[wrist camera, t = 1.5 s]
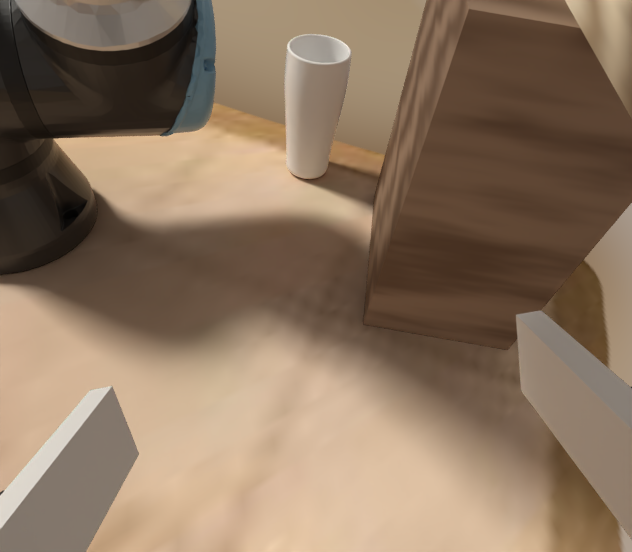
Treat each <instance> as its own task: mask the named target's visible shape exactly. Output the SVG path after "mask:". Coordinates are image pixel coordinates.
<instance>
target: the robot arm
mask: <svg viewBox="0 0 632 552" xmlns="http://www.w3.org/2000/svg"><path fill="white" fill-rule="evenodd" d="M215 54H216V37H215V22H214V14H213V7H212V1H211V0H0V274H7V273H15V272H20V271H25V270H29V269H32V268H36V267H39V266H41V265H44V264H47V263H49V262H51V261H53V260H55V259H57V258H59V257H61V256H63V255H64V254H66V253H67V252H69V251H70V250H72V249H73V248H74V247H76V246H77V245H78V244H79V243H80V242H81V241H82V240H83V239H84V238H85V237H86V236H87V235H88V233H89V232H90V230H91V229H92V227H93V225H94V223H95V220H96V217H97V203H96V199H95V197H94V194H93V191H92V188H91V186H90V183H89V182H88V180H87V178H86V177H85V176H84V174H83V173H82V172H81V171H80V170H79V169H78V168H77V166H76V165H75V164H74V163H73V162H72V161H71V159H70V158H69V157H68V156H67V155H66V154H65V153H64V151H63V150H62V149H61V148H60V147H59V146H58V144H57V143H56V142H55V141H54V139H53V138H76V137H115V136H153V135H160V136H169V135H171V134H173V133H181V132H192V131H197V130H199V129H201V128H202V127H204V126H205V125H206V123H207V122H208V120H209V118H210V115H211V112H212V108H213V102H214V93H215V76H216V73H215V72H216V71H215V66H214V63H215ZM516 325H517V339H518V354H519V369H520V383H521V391H522V393H523V394H524V395H525V397H526V398H527V400H528V401H529V402H530V404H531V405H532V406H533V408H534V409H535V410H536V412H537V413H538V414H539V416H540V417H541V418H542V420H543V421H544V422H545V424H546V425H547V426H548V428H549V429H550V430H551V432H552V433H553V434H554V436H555V437H556V438H557V440H558V441H559V443H560V444H561V445H562V447H563V448H564V449H565V451H566V452H567V453H568V455H569V456H570V457H571V459H572V460H573V461H574V463H575V464H576V465H577V467H578V468H579V469H580V471H581V472H582V473H583V475H584V476H585V477H586V479H587V480H588V481H589V483H590V484H591V486H592V487H593V488H594V490H595V491H596V492H597V494H598V495H599V496H600V498H601V499H602V500H603V502H604V503H605V504H606V506H607V507H608V508H609V510H610V511H611V512H612V514H613V515H614V516H615V518H616V519H617V520H618V522H619V523H620V524H621V526H622V527H623V528H624V530H625V531H626V532H627V534H628V535H629V537H630V538H631V539H632V387H630V386H629V385H627V384H626V383H625V382H624V381H623V380H622V379H620V378H619V377H618V376H617V375H616V374H614V373H613V372H612V371H611V370H610V369H609V368H608V367H607V366H605V365H604V364H603V363H602V362H601V361H600V360H598V359H597V358H596V357H595V356H594V355H593V354H591V353H590V352H589V351H588V350H587V349H586V348H584V347H583V346H582V345H581V344H580V343H579V342H577V341H576V340H575V339H574V338H573V337H572V336H570V335H569V334H568V333H567V332H566V331H565V330H563V329H562V328H561V327H560V326H559V325H558V324H556V323H555V322H554V321H553V320H552V319H551V318H549V317H548V316H547V315H546V314H545V313H544V312H542V311H541V310H540V311H534V312H529V313H523V314H517V315H516ZM138 455H139V452H138V450H137V447H136V445H135V442H134V440H133V437H132V435H131V432H130V430H129V427H128V425H127V422H126V420H125V417H124V415H123V412H122V409H121V407H120V404H119V402H118V399H117V397H116V394H115V392H114V389H113V387H112V386H110V387H105V388H99V389H93V390H90V391H89V392H88V393H87V395H86V396H85V397H84V398H83V399H82V400H81V402H80V403H79V404H78V405H77V406H76V407H75V409H74V410H73V411H72V412H71V413H70V414H69V416H68V417H67V418H66V419H65V420H64V421H63V423H62V424H61V425H60V426H59V427H58V429H57V430H56V431H55V432H54V433H53V434H52V436H51V437H50V438H49V439H48V440H47V441H46V443H45V444H44V445H43V446H42V447H41V448H40V450H39V451H38V452H37V453H36V454H35V456H34V457H33V458H32V459H31V460H30V461H29V463H28V464H27V465H26V466H25V467H24V468H23V470H22V471H21V472H20V473H19V474H18V475H17V477H16V478H15V479H14V480H13V481H12V483H11V484H10V485H9V486H8V487H7V488H6V490H3V491H2V492H0V552H86V551H87V549H88V547H89V545H90V543H91V541H92V540H93V538H94V536H95V534H96V532H97V530H98V529H99V527H100V525H101V523H102V521H103V519H104V517H105V516H106V514H107V512H108V510H109V508H110V506H111V505H112V503H113V501H114V499H115V497H116V495H117V494H118V492H119V490H120V488H121V486H122V484H123V482H124V481H125V479H126V477H127V475H128V473H129V471H130V470H131V468H132V466H133V464H134V462H135V460H136V459H137V457H138Z"/></svg>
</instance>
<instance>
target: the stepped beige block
mask: <svg viewBox="0 0 632 552" xmlns="http://www.w3.org/2000/svg"><path fill="white" fill-rule="evenodd" d="M565 1H566V3H567V5H568V7H569V9H570V10H571V12H572V14H573V16H574V17H575V19H576V21H577V23H578V25H579V26H580V28H581V30H582V32H583V33H584V35H585V37H586V39H587V41H588V42H589V44H590V46H591V48H592V49H593V51H594V53H595V55H596V56H597V58H598V60H599V62H600V64H601V65H602V67H603V69H604V71H605V72H606V74H607V76H608V78H609V80H610V81H611V83H612V85H613V87H614V88H615V90H616V92H617V94H618V96H619V97H620V99H621V101H622V103H623V104H624V106H625V108H626V110H627V111H628V113H629V115H630V117H631V119H632V0H565Z"/></svg>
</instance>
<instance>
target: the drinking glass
mask: <svg viewBox="0 0 632 552" xmlns="http://www.w3.org/2000/svg"><path fill="white" fill-rule="evenodd" d="M350 61H351V50H350V48H349V47H348V46H347V45H346V44H345V43H343V42H342V41H340V40H338V39H336V38H333V37H330V36H325V35H318V34H307V35H300V36H297V37H295V38H293V39H291V40H290V41H289V43H288V45H287V54H286V63H285V64H286V65H285V115H286V166H287V168H288V170H289V171H290V172H291V173H292V174H293V175H295V176H297V177H299V178H303V179H314V178H318V177H320V176H322V175H323V174H324V173H325V172H326V170H327V168H328V163H329V157H330V153H331V148H332V144H333V140H334V137H335V133H336V129H337V125H338V121H339V117H340V113H341V109H342V106H343V102H344V98H345V93H346V89H347V83H348V77H349V71H350Z"/></svg>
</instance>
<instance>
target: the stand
mask: <svg viewBox="0 0 632 552" xmlns="http://www.w3.org/2000/svg"><path fill="white" fill-rule="evenodd" d="M631 203H632V119H631V117H630V115H629V113H628V111H627V110H626V108H625V106H624V104H623V103H622V101H621V99H620V97H619V96H618V94H617V92H616V90H615V88H614V87H613V85H612V83H611V81H610V80H609V78H608V76H607V74H606V72H605V71H604V69H603V67H602V65H601V64H600V62H599V60H598V58H597V56H596V55H595V53H594V51H593V49H592V48H591V46H590V44H589V42H588V41H587V39H586V37H585V35H584V33H583V32H582V30H581V28H580V26H579V25H578V23H577V21H576V19H575V17H574V16H573V14H572V12H571V10H570V9H569V7H568V5H567V3H566V1H565V0H426V4H425V8H424V11H423V15H422V19H421V23H420V26H419V30H418V34H417V38H416V41H415V46H414V49H413V53H412V56H411V60H410V64H409V68H408V72H407V76H406V79H405V83H404V87H403V90H402V94H401V98H400V102H399V105H398V109H397V113H396V117H395V120H394V124H393V128H392V132H391V135H390V139H389V143H388V147H387V151H386V154H385V158H384V162H383V166H382V169H381V173H380V177H379V181H378V184H377V188H376V192H375V196H374V206H373V217H372V228H371V240H370V251H369V263H368V274H367V286H366V297H365V309H364V320H363V324H364V325H370V326H375V327H381V328H387V329H392V330H398V331H404V332H409V333H415V334H421V335H426V336H432V337H438V338H443V339H449V340H455V341H460V342H466V343H472V344H477V345H483V346H488V347H494V348H500V349H505V350H508V349H509V348H510V346H511V345H512V344H513V343H514V342H515V340H516V339H517V325H516V315H517V314H523V313H529V312H534V311H540V310H542V308H543V307H544V306H545V305H546V304H547V302H548V301H549V300H550V299H551V298H552V296H553V295H554V294H555V293H556V292H557V291H558V289H559V288H560V287H561V286H562V285H563V283H564V282H565V281H566V280H567V279H568V277H569V276H570V275H571V274H572V273H573V272H574V270H575V269H576V268H577V267H578V266H579V264H580V263H581V262H582V261H583V260H584V258H585V257H586V256H587V255H588V253H589V252H590V251H591V250H592V249H593V248H594V246H595V245H596V244H597V243H598V242H599V241H600V239H601V238H602V237H603V236H604V235H605V233H606V232H607V231H608V230H609V229H610V227H611V226H612V225H613V224H614V223H615V222H616V220H617V219H618V218H619V217H620V216H621V214H622V213H623V212H624V211H625V209H627V207H628V206H629V205H630V204H631Z"/></svg>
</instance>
